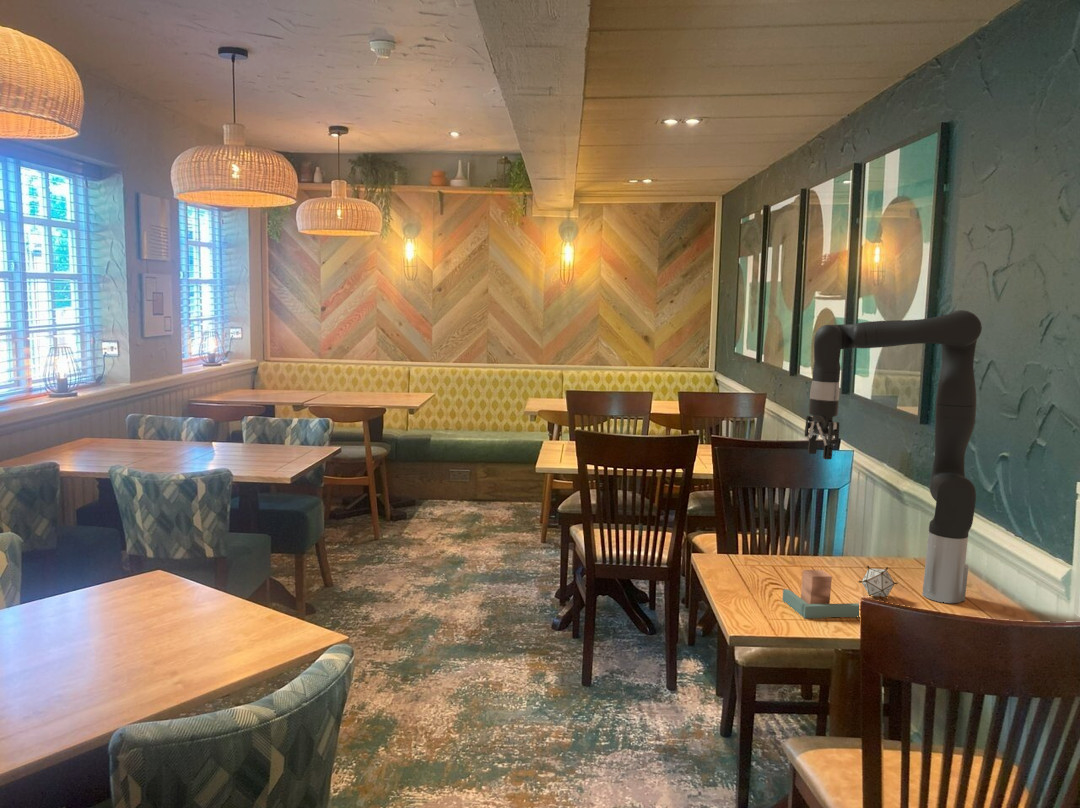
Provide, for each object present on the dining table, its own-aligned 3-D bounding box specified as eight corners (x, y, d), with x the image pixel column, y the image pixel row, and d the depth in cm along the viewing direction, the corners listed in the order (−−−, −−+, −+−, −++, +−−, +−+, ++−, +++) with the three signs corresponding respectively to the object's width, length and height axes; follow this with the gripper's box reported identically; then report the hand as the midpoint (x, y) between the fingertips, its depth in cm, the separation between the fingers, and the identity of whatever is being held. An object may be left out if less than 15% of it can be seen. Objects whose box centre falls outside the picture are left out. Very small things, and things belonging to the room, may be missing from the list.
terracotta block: (818, 604, 199) (821, 569, 198) (828, 612, 194) (831, 576, 193) (800, 604, 198) (803, 569, 197) (809, 612, 193) (812, 576, 192)
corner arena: (840, 600, 204) (841, 588, 203) (866, 617, 192) (867, 605, 192) (782, 600, 201) (783, 589, 201) (804, 618, 190) (805, 606, 189)
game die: (880, 613, 206) (890, 592, 199) (849, 594, 210) (858, 573, 203) (896, 591, 210) (906, 569, 203) (866, 573, 215) (875, 551, 208)
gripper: (850, 401, 210) (845, 461, 212) (824, 395, 224) (819, 452, 226) (824, 400, 209) (819, 461, 211) (799, 394, 223) (794, 451, 225)
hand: (819, 456), depth 218 cm, fingers open, 8 cm apart
